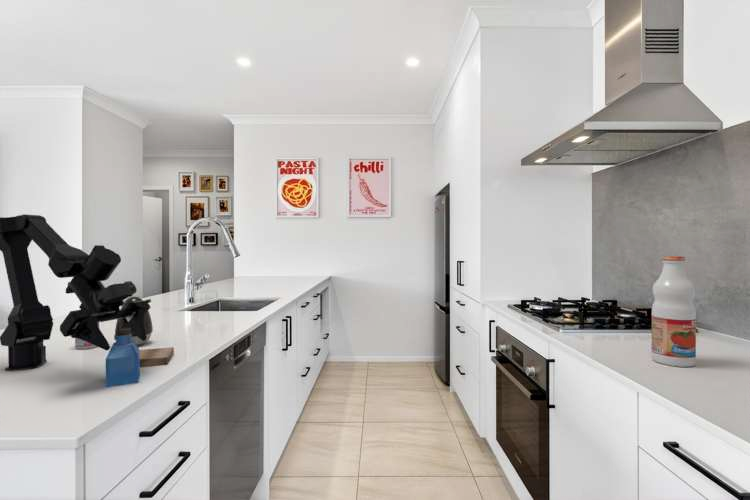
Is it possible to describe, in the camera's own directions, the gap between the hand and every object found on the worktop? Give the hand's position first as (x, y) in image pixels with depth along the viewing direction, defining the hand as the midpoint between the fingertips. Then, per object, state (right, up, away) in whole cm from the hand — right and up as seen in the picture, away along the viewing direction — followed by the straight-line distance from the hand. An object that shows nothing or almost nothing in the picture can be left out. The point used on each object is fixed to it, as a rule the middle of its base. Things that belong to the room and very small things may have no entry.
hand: (127, 344), depth 93 cm
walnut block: (-4, -9, +16) cm, 19 cm away
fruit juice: (+136, -8, +14) cm, 137 cm away
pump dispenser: (-19, -8, +35) cm, 40 cm away
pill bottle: (-32, -8, +32) cm, 46 cm away
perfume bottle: (-1, -9, +1) cm, 9 cm away
